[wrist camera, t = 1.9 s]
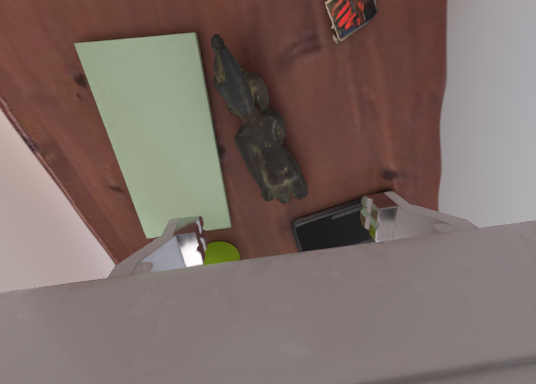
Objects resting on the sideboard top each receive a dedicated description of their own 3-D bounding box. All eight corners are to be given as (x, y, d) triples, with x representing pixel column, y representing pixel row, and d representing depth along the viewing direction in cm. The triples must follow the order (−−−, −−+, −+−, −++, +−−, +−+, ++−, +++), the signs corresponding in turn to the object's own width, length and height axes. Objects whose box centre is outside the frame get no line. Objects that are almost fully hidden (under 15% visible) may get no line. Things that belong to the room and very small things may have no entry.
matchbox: (381, 8, 25) (383, 7, 25) (341, 50, 27) (342, 50, 26) (353, -36, 24) (355, -38, 23) (312, 12, 25) (313, 11, 24)
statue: (302, 176, 36) (233, 18, 23) (322, 197, 31) (249, 16, 19) (263, 199, 35) (174, 53, 23) (277, 224, 31) (176, 59, 19)
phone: (402, 235, 37) (304, 267, 38) (398, 231, 38) (302, 262, 39) (398, 189, 34) (290, 225, 34) (393, 186, 35) (288, 221, 35)
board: (81, 44, 24) (73, 43, 23) (197, 33, 25) (195, 32, 24) (149, 233, 34) (146, 238, 33) (231, 222, 35) (231, 227, 34)
